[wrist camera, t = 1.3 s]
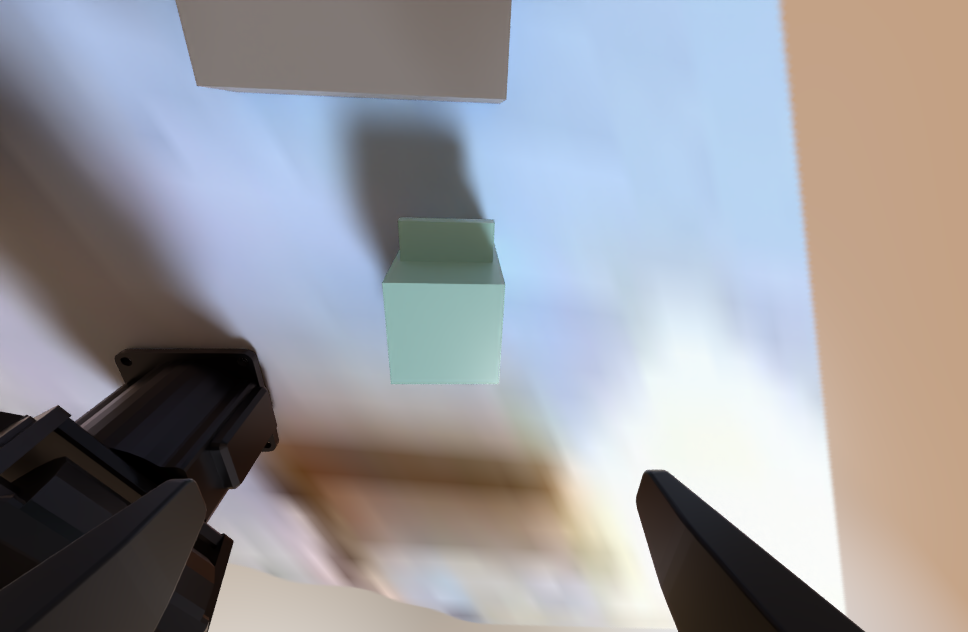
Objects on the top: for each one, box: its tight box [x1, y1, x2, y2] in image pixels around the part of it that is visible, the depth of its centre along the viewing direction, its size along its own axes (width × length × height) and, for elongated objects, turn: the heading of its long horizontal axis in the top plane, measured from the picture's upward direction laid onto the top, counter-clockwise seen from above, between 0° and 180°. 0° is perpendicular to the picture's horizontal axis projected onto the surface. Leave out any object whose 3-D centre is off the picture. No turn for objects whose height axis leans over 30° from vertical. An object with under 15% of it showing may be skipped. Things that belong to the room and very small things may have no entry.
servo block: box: [382, 217, 505, 384], centre depth 16 cm, size 4×7×6 cm, turn 178°
